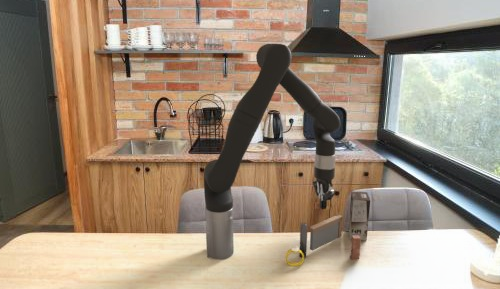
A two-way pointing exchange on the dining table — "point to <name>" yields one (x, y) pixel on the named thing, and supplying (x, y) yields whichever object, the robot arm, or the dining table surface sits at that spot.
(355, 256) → the block
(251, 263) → the dining table surface
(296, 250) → the watch
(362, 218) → the coffee box
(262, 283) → the dining table surface
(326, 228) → the gate
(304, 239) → the gate post
